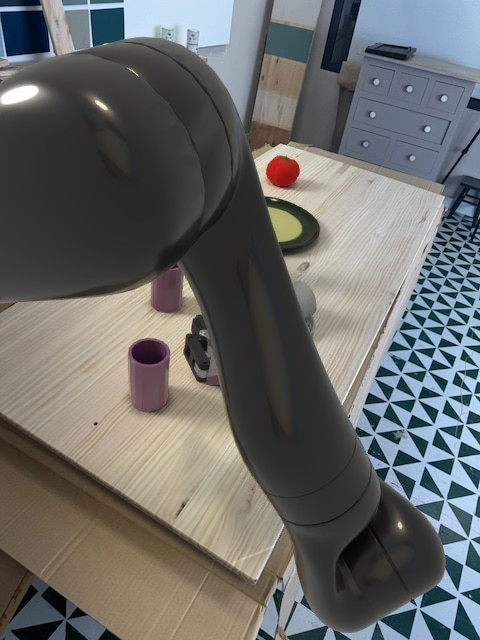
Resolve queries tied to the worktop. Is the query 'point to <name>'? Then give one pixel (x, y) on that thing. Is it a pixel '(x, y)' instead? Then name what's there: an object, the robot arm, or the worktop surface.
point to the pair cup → (148, 374)
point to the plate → (292, 223)
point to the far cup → (167, 290)
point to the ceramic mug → (306, 301)
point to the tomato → (282, 171)
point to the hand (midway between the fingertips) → (229, 319)
